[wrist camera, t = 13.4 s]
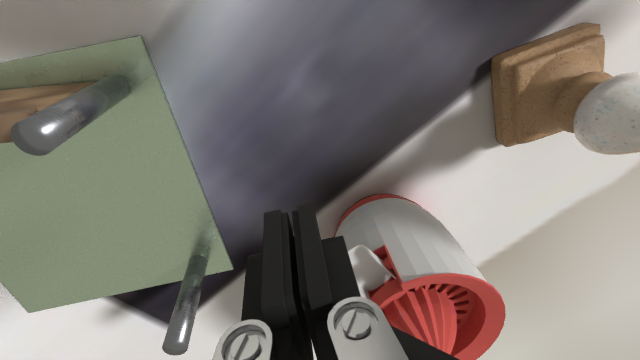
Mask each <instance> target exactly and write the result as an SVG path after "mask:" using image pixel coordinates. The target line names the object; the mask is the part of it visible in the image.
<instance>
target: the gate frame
mask: <svg viewBox="0 0 640 360" xmlns="http://www.w3.org/2000/svg"><path fill="white" fill-rule="evenodd" d="M86 82H95V83H93V84H91V85H89V86H87V87H86V88H84V89H82V90H80V91H78V92H76V93H74V94H72V95H70V96H68V97H66V98H64V99H62V100H60V101H58V102H56V103H54V104H52V105H50V106H48V107H46V108H45V109H43V110H41V111H39V112H37V113H35V114H33V115H31V116H29V117H27V118H25V119H23V120H21V121H19V122H17V123H16V124H14V125H13V126H12V128H11V132H10V134H11V138H12V140H13V142H9V143H0V282H1V283H2V284H3V285H4V286H5V287H6V288H7V289H8V291H9V292H10V293H11V294H12V295H13V296H14V297H15V298H16V299H17V301H18V302H19V303H20V304H21V305H22V306H23V307H24V308H25V310H26V311H27V312H28V313H31V312H36V311H41V310H45V309H50V308H55V307H59V306H64V305H69V304H73V303H78V302H83V301H87V300H92V299H97V298H102V297H106V296H111V295H116V294H120V293H125V292H130V291H134V290H139V289H144V288H148V287H153V286H158V285H162V284H167V283H172V282H176V281H181V280H183V282H182V285H181V288H180V291H179V294H178V298H177V301H176V304H175V307H174V311H173V314H172V317H171V320H170V324H169V327H168V330H167V333H166V337H165V340H164V343H163V346H162V349H163V351H164V352H165V353H167V354H169V355H181V354H183V353H185V352H186V351H187V349H188V344H189V340H190V336H191V332H192V327H193V323H194V319H195V315H196V311H197V306H198V302H199V298H200V294H201V289H202V285H203V281H204V277H205V275H209V274H214V273H219V272H223V271H228V270H233V269H234V266H233V263H232V261H231V258H230V256H229V253H228V251H227V248H226V246H225V243H224V241H223V238H222V236H221V233H220V231H219V228H218V226H217V223H216V221H215V218H214V216H213V213H212V211H211V208H210V206H209V203H208V201H207V198H206V196H205V193H204V191H203V188H202V186H201V183H200V181H199V178H198V176H197V173H196V171H195V168H194V166H193V163H192V161H191V158H190V156H189V153H188V151H187V148H186V146H185V143H184V141H183V138H182V136H181V133H180V131H179V128H178V126H177V123H176V121H175V118H174V116H173V113H172V111H171V108H170V106H169V103H168V101H167V98H166V96H165V93H164V91H163V88H162V86H161V83H160V81H159V78H158V76H157V73H156V71H155V68H154V66H153V63H152V61H151V58H150V56H149V53H148V51H147V48H146V46H145V43H144V41H143V38H142V36H137V37H132V38H126V39H121V40H116V41H111V42H106V43H101V44H96V45H90V46H85V47H80V48H75V49H70V50H65V51H59V52H54V53H49V54H44V55H39V56H34V57H29V58H23V59H18V60H13V61H8V62H3V63H0V90H8V89H19V88H30V87H41V86H52V85H63V84H74V83H86Z"/></svg>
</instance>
